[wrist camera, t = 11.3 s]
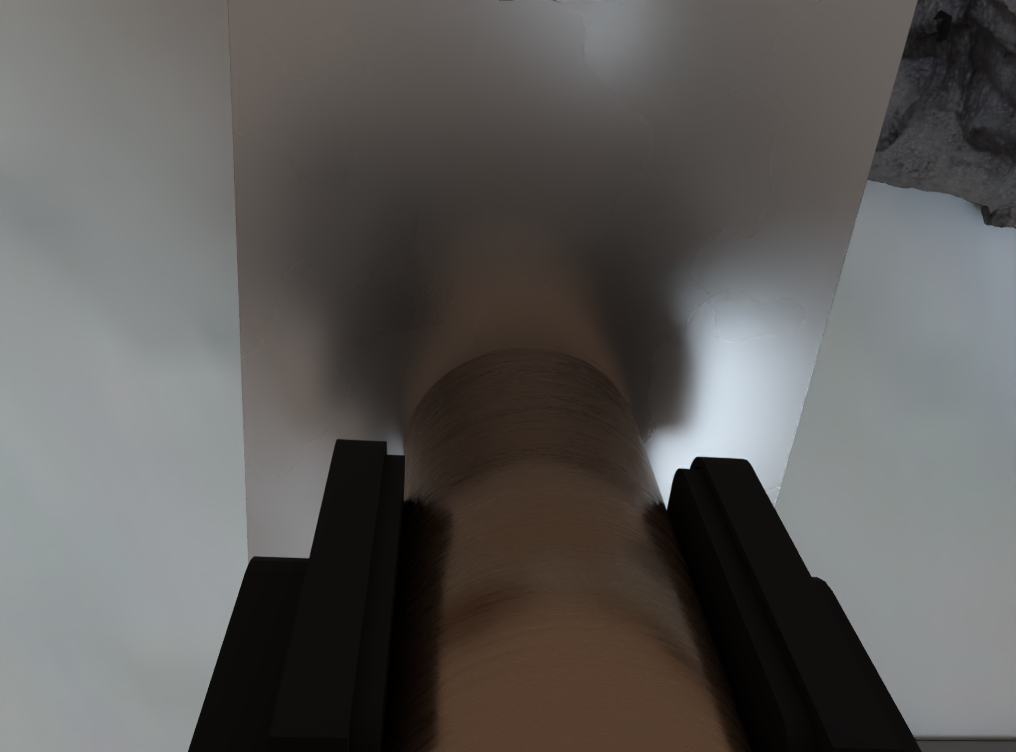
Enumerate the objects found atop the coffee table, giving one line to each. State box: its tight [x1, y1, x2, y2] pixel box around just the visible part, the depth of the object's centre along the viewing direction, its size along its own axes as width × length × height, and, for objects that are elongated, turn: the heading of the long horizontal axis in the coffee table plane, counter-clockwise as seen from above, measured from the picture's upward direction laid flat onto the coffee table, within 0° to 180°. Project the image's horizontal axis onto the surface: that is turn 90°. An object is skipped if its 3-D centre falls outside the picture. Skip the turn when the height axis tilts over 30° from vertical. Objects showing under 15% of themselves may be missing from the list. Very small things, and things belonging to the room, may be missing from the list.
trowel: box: [228, 0, 918, 752], centre depth 8 cm, size 7×10×8 cm
